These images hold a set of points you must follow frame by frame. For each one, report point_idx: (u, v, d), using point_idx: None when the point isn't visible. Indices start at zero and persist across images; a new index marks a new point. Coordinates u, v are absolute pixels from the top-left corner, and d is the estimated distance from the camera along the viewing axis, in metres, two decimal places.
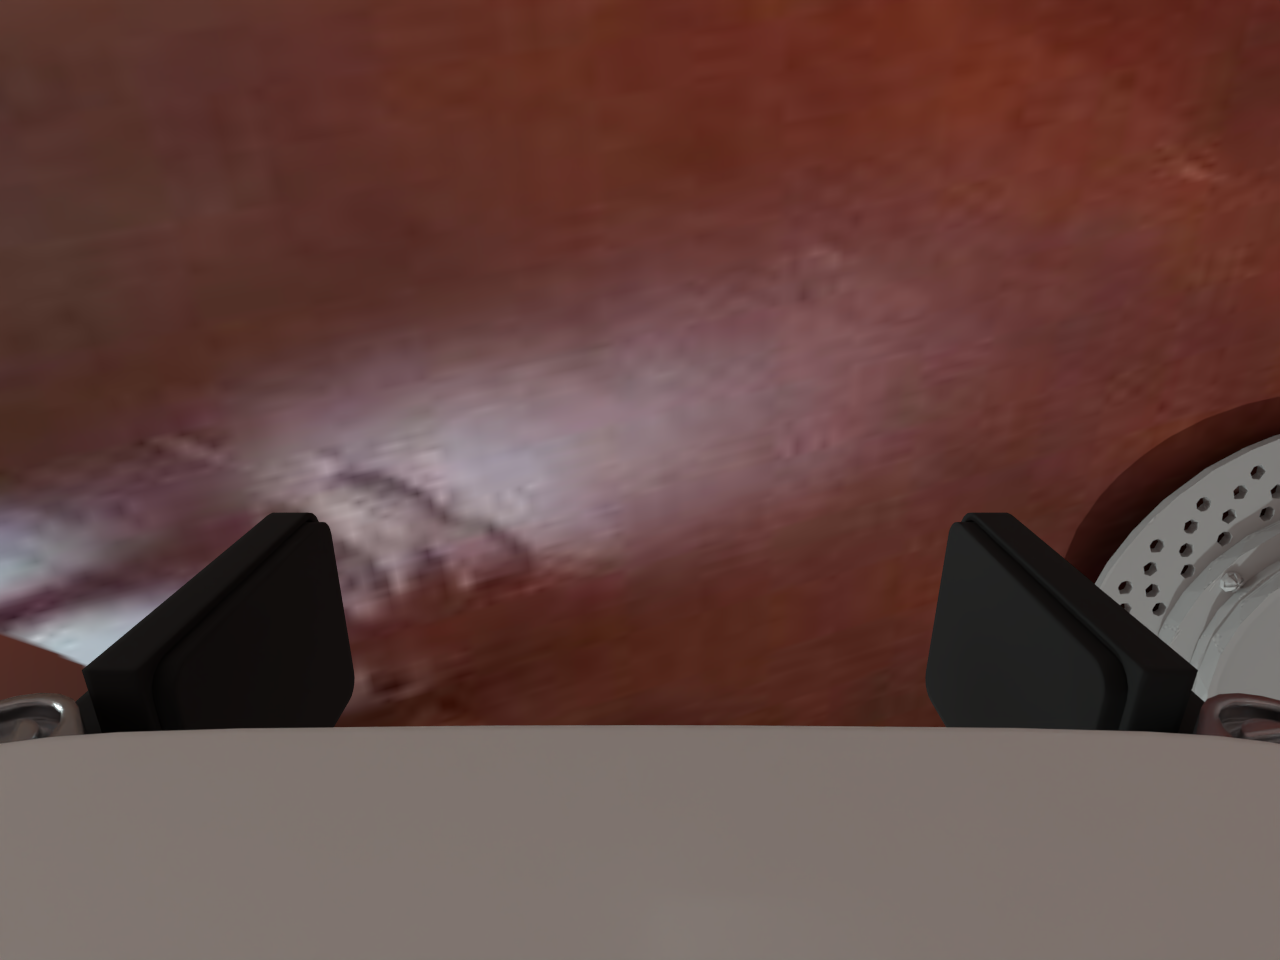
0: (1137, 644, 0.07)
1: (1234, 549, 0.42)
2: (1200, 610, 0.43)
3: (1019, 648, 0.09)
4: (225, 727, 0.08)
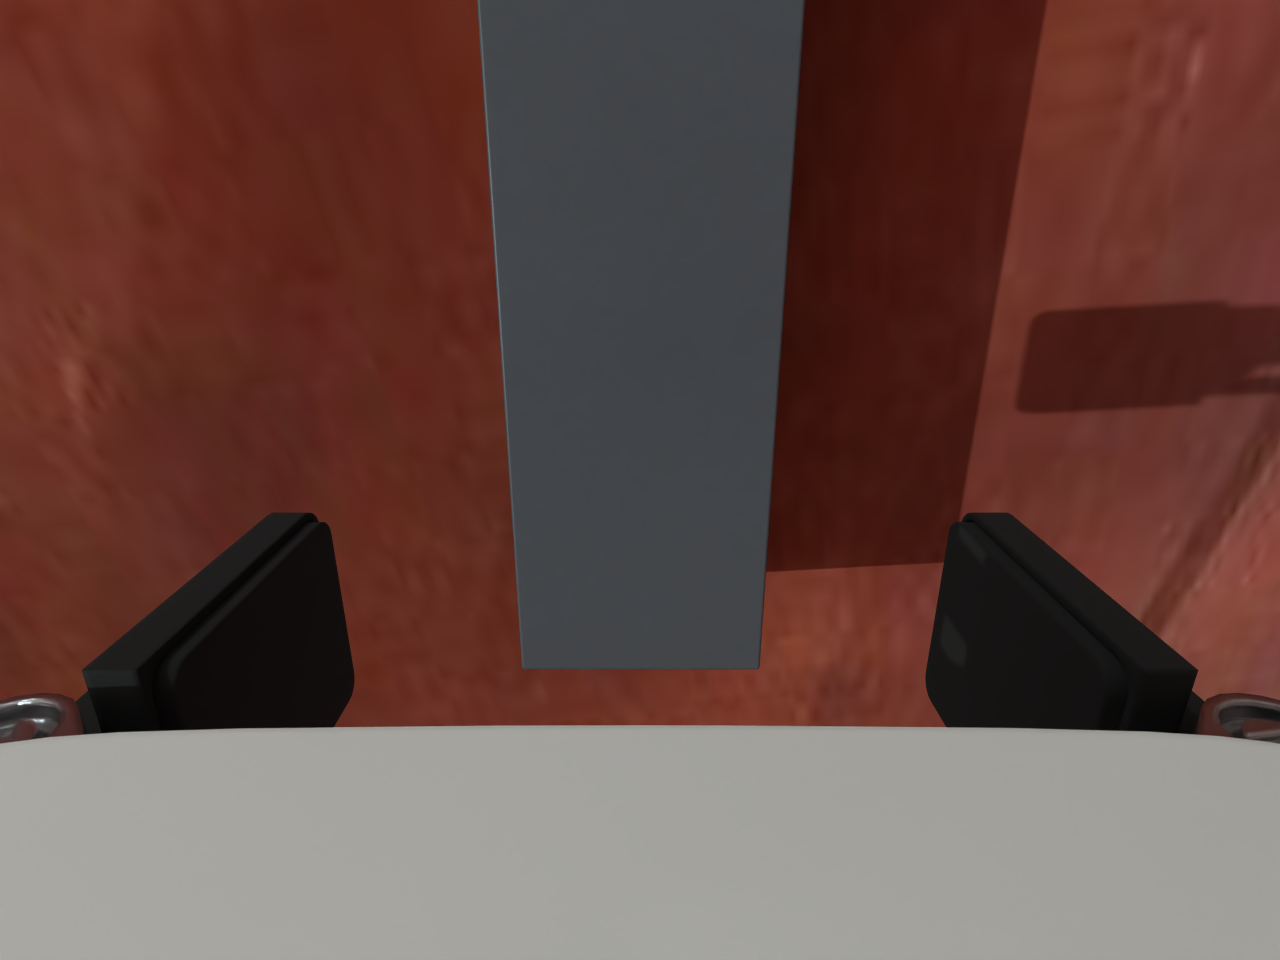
0: (1137, 644, 0.07)
1: None
2: None
3: (1019, 648, 0.09)
4: (225, 727, 0.08)
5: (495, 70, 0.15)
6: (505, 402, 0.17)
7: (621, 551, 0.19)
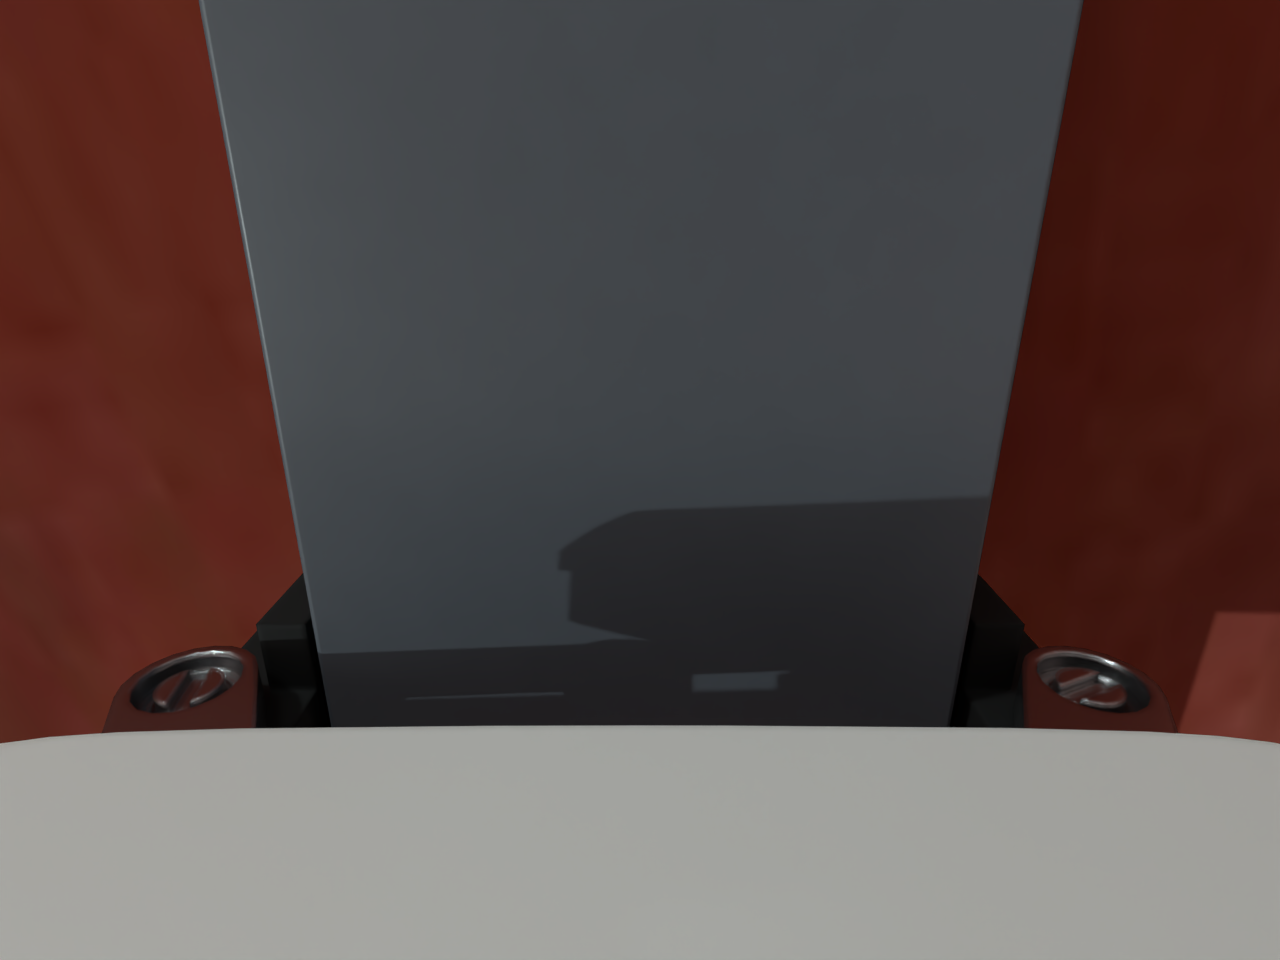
0: (978, 603, 0.08)
1: None
2: None
3: None
4: None
5: None
6: (322, 666, 0.07)
7: None
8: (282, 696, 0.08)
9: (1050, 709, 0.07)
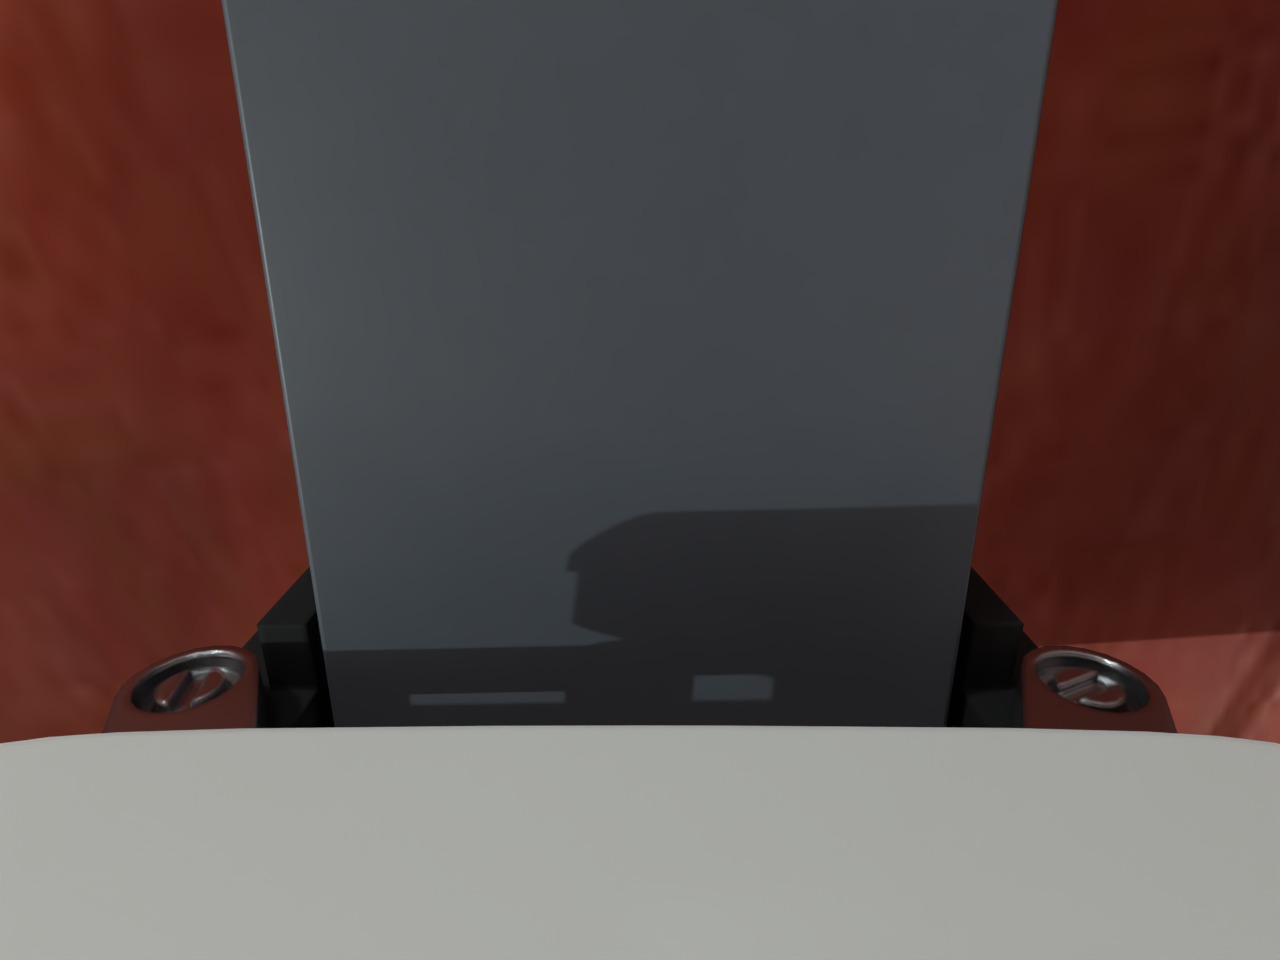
0: (977, 603, 0.08)
1: None
2: None
3: None
4: None
5: None
6: (325, 658, 0.07)
7: None
8: (283, 696, 0.08)
9: (1049, 709, 0.07)
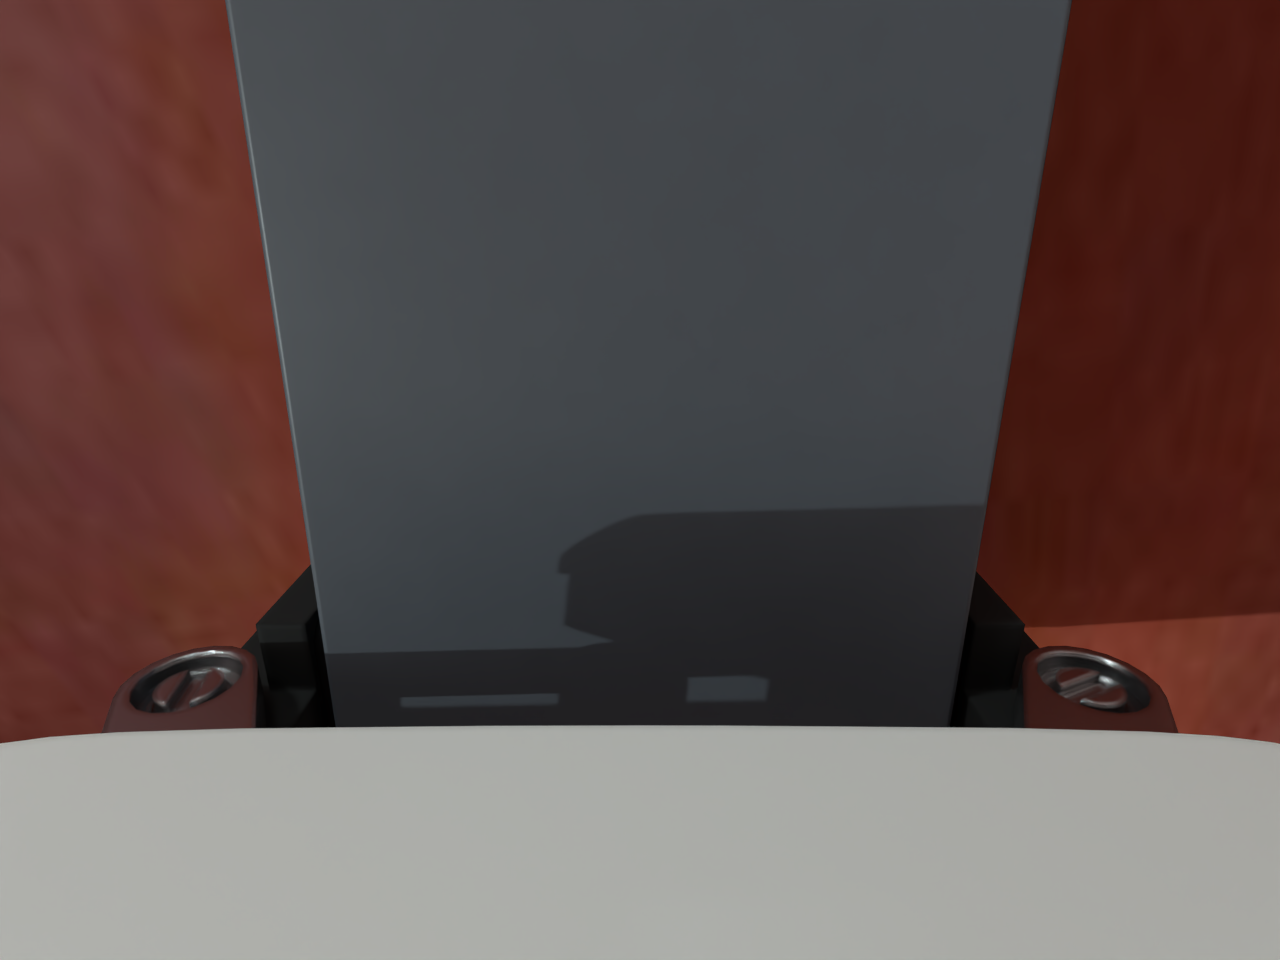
0: (978, 603, 0.08)
1: None
2: None
3: None
4: None
5: None
6: (327, 660, 0.07)
7: None
8: (281, 696, 0.08)
9: (1050, 709, 0.07)
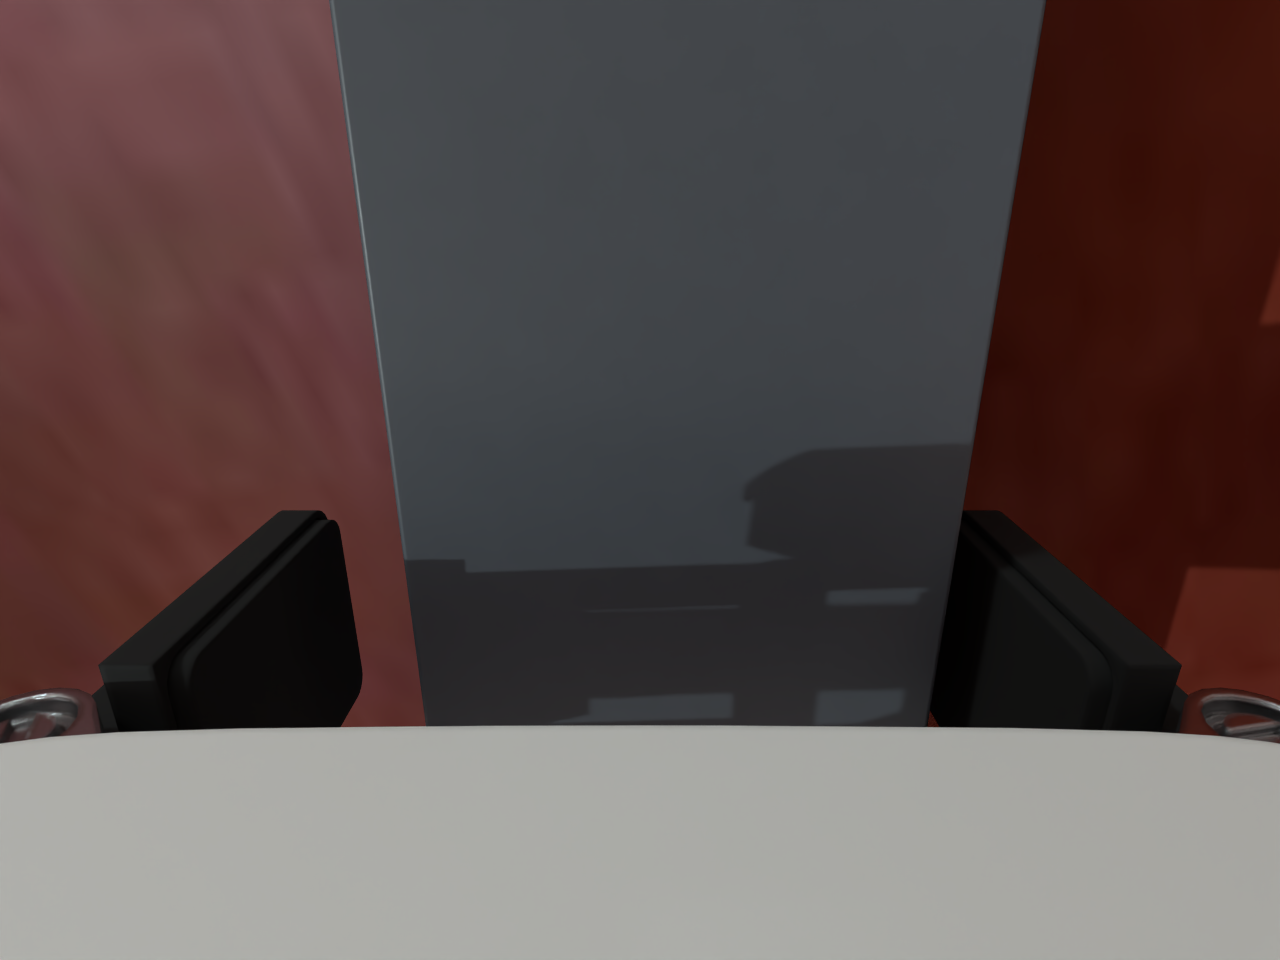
0: (1122, 639, 0.07)
1: None
2: None
3: (1007, 644, 0.09)
4: (238, 722, 0.08)
5: None
6: (410, 593, 0.09)
7: None
8: None
9: None
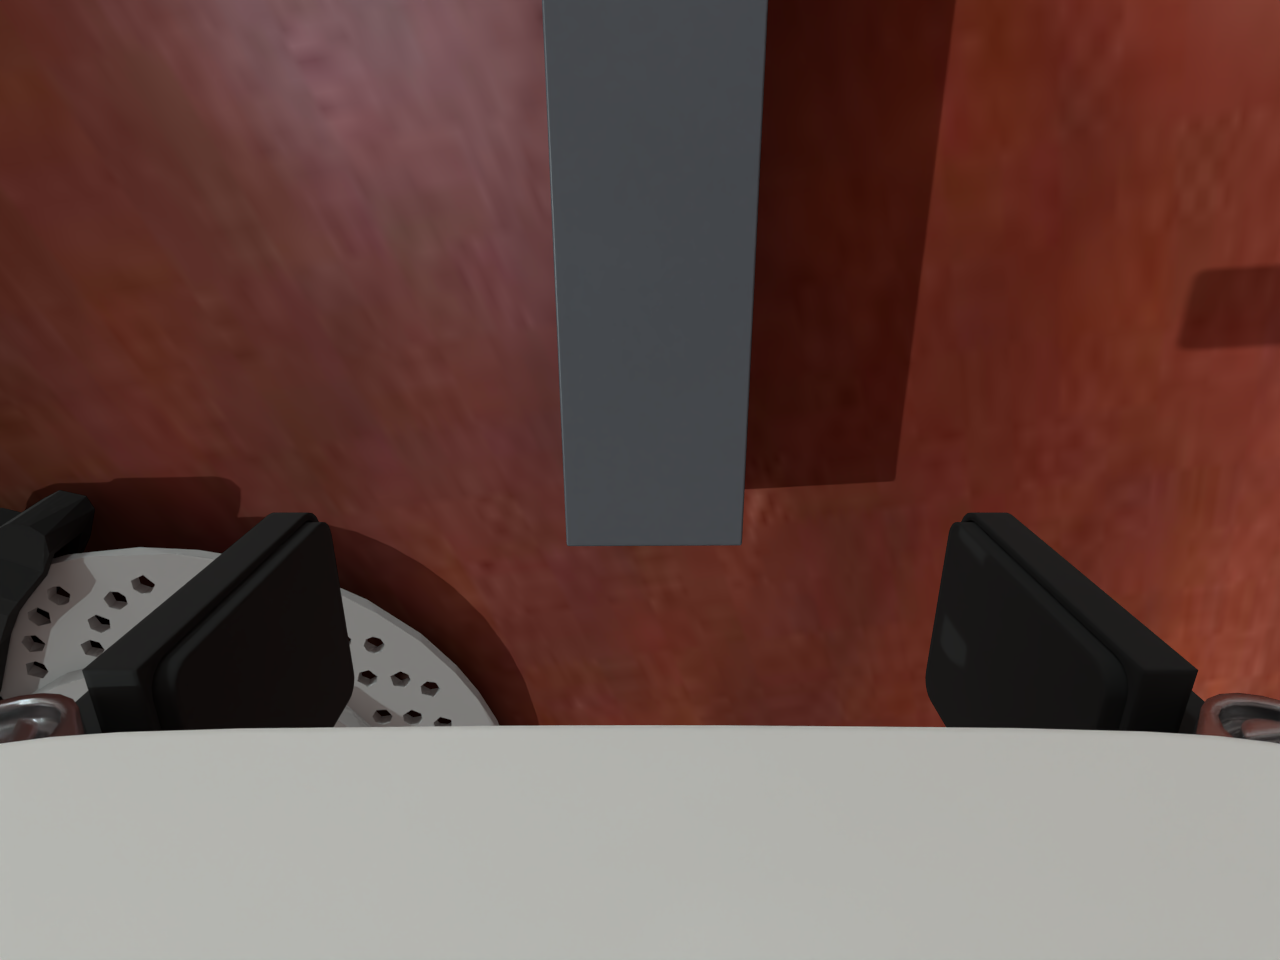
0: (1137, 644, 0.07)
1: None
2: None
3: (1019, 648, 0.09)
4: (225, 727, 0.08)
5: (556, 112, 0.22)
6: (558, 343, 0.24)
7: (640, 454, 0.26)
8: None
9: None
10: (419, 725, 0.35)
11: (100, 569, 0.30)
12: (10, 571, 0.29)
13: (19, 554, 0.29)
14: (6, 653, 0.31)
